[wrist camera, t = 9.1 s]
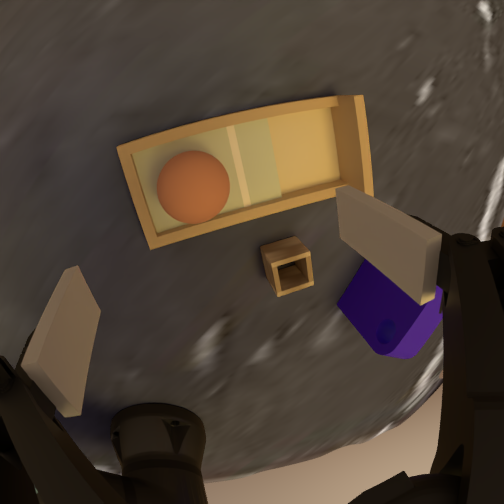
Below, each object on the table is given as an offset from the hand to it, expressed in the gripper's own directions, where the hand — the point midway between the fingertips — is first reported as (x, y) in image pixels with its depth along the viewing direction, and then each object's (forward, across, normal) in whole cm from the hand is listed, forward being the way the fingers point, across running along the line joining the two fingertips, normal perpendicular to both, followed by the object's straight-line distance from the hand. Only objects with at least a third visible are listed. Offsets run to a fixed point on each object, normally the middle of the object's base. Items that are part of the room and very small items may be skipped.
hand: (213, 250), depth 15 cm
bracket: (+17, +24, -22) cm, 36 cm away
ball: (+12, 0, 0) cm, 12 cm away
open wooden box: (+16, +7, -11) cm, 21 cm away
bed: (+16, +5, 0) cm, 17 cm away
